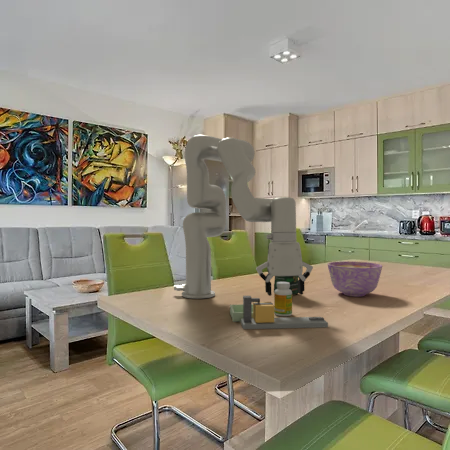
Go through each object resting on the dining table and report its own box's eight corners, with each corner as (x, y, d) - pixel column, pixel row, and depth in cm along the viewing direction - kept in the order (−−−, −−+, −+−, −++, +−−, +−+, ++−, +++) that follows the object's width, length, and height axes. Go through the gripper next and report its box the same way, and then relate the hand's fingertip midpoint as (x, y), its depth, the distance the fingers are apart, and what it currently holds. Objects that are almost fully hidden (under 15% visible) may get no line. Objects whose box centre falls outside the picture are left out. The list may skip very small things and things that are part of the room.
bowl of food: (317, 294, 140) (317, 264, 140) (341, 287, 155) (341, 260, 155) (370, 302, 127) (370, 269, 127) (390, 293, 141) (390, 264, 141)
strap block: (255, 322, 97) (255, 305, 97) (253, 317, 102) (253, 301, 102) (274, 322, 98) (274, 305, 98) (270, 317, 103) (270, 301, 103)
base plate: (243, 329, 97) (243, 322, 97) (240, 322, 103) (240, 316, 103) (327, 327, 98) (327, 320, 98) (320, 320, 104) (320, 315, 104)
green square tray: (232, 321, 103) (232, 313, 103) (229, 312, 114) (229, 304, 114) (268, 321, 104) (268, 312, 104) (262, 312, 114) (262, 304, 114)
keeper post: (244, 327, 99) (244, 297, 98) (243, 324, 101) (243, 295, 101) (260, 326, 99) (260, 297, 99) (258, 324, 101) (258, 295, 101)
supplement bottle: (288, 317, 108) (288, 284, 108) (271, 315, 111) (271, 283, 111) (294, 313, 112) (294, 282, 112) (278, 311, 115) (278, 280, 115)
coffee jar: (286, 297, 135) (286, 247, 135) (270, 294, 141) (270, 246, 141) (302, 294, 141) (302, 246, 141) (286, 291, 147) (286, 245, 147)
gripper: (257, 239, 107) (258, 297, 107) (315, 237, 108) (316, 295, 108) (253, 238, 114) (255, 293, 114) (308, 237, 115) (309, 291, 115)
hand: (285, 294), depth 111 cm, fingers open, 9 cm apart
